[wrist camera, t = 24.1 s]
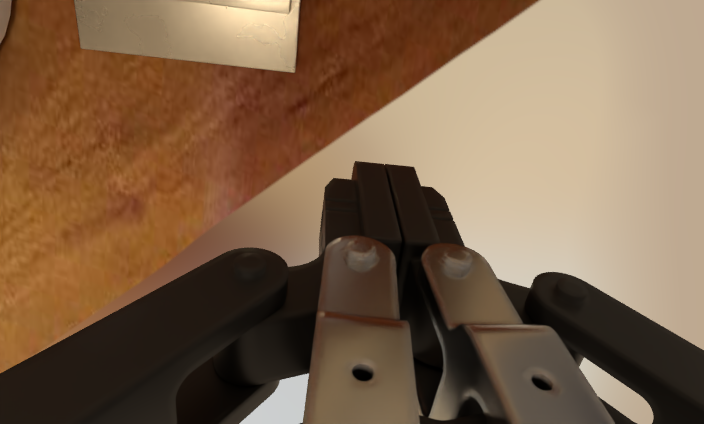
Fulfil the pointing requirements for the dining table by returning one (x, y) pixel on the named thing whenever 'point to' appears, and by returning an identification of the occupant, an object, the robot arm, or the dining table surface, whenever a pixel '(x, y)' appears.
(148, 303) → the robot arm
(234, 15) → the keypad
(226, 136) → the dining table surface
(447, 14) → the dining table surface
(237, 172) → the dining table surface
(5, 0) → the planter
